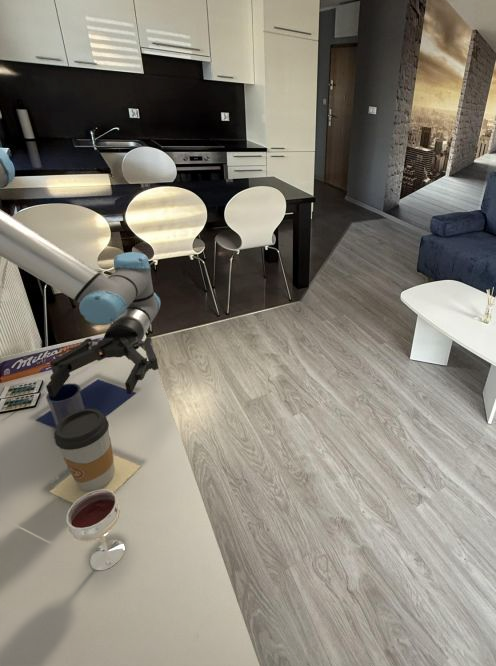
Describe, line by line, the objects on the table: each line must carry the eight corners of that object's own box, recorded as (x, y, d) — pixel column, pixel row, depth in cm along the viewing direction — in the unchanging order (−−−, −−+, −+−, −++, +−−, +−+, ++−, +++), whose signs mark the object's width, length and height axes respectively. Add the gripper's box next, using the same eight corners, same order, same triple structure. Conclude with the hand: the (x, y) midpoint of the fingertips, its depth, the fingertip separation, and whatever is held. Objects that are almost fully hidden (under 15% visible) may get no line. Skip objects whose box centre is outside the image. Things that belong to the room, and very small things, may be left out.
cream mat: (49, 492, 76) (49, 491, 76) (100, 449, 85) (100, 449, 85) (93, 513, 73) (93, 512, 73) (141, 466, 82) (140, 466, 82)
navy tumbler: (51, 431, 88) (39, 397, 84) (77, 413, 93) (67, 380, 89) (71, 440, 87) (59, 405, 82) (96, 421, 92) (86, 388, 87)
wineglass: (80, 583, 63) (62, 536, 57) (86, 543, 68) (69, 497, 63) (129, 565, 66) (115, 519, 60) (131, 528, 71) (118, 483, 66)
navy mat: (35, 420, 91) (35, 420, 91) (98, 379, 105) (97, 379, 105) (78, 438, 87) (78, 437, 87) (136, 393, 101) (136, 392, 101)
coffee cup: (61, 488, 76) (39, 432, 70) (99, 456, 84) (83, 401, 77) (94, 503, 74) (75, 446, 68) (130, 468, 82) (116, 413, 75)
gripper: (184, 342, 99) (161, 401, 80) (73, 345, 94) (21, 408, 76) (181, 316, 96) (156, 372, 77) (65, 318, 91) (9, 377, 72)
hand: (89, 390), depth 76 cm, fingers open, 13 cm apart
